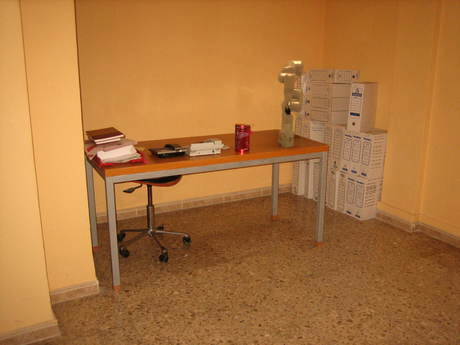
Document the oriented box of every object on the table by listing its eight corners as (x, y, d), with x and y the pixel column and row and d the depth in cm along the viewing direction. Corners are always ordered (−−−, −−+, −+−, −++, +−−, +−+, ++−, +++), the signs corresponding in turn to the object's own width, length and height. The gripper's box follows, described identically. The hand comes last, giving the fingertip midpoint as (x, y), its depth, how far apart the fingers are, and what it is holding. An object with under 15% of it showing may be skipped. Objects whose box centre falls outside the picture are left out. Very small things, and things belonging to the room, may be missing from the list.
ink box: (277, 146, 337) (278, 130, 334) (285, 144, 342) (286, 129, 339) (286, 148, 331) (286, 132, 327) (293, 146, 336) (294, 131, 333)
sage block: (282, 130, 336) (283, 124, 334) (289, 130, 336) (289, 124, 334) (283, 131, 331) (283, 125, 329) (290, 131, 331) (290, 125, 329)
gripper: (282, 89, 333) (281, 112, 338) (284, 91, 317) (283, 115, 321) (292, 89, 333) (291, 112, 338) (295, 92, 317) (293, 115, 321)
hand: (287, 113), depth 330 cm, fingers open, 9 cm apart
